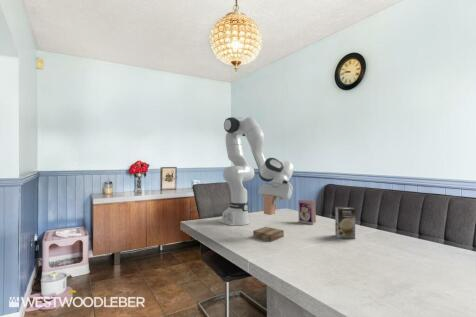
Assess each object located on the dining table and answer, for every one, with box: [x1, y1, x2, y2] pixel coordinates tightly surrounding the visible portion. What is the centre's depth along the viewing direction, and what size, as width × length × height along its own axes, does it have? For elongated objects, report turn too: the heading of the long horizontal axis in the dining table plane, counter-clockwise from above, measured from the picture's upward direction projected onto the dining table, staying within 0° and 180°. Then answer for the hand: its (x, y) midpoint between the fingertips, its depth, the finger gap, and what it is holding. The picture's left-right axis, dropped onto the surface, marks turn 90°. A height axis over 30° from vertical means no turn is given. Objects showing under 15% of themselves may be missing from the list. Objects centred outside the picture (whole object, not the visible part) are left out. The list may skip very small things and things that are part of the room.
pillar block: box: [263, 195, 276, 216], centre depth 147 cm, size 4×4×10 cm
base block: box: [252, 226, 285, 242], centre depth 147 cm, size 12×12×4 cm
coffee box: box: [334, 206, 356, 239], centre depth 146 cm, size 9×6×16 cm
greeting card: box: [297, 199, 317, 225], centre depth 180 cm, size 11×7×15 cm, turn 43°
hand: (268, 203), depth 147 cm, fingers closed on pillar block, 4 cm apart
